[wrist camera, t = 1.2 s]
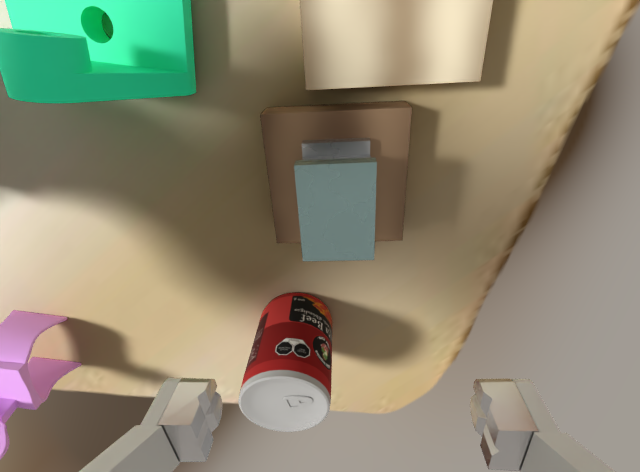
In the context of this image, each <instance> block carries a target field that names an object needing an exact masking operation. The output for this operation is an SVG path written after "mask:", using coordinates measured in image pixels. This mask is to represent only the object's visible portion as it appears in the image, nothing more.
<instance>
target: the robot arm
mask: <svg viewBox="0 0 640 472" xmlns="http://www.w3.org/2000/svg"><path fill="white" fill-rule="evenodd" d="M216 388H217V384H216V382H215V379H196V378H168V379H167V380H166V381H164V383H163V384H162V386H161V388H160V390H159V392H158V394H157V395H156V397H155V399H154V401H153V403H152V405H151V406H150V408H149V410H148V412H147V414H146V416H145V418H144V419H143V421H142V423H141V425H140V426H139V425H137V426H135V427H133V428H132V429H131V430H130V431H128V432H127V433H126V434H125V435H124V436H122V437H121V438H120V439H119V440H117V441H116V442H115V443H113V444H112V445H111V446H110V447H109V448H107V449H106V450H105V451H104V452H102V453H101V454H100V455H99V456H97V457H96V458H95V459H94V460H93V461H92V462H90V463H89V464H88V465H86V466H85V467H84V468H83V469H82V470H80V471H79V472H172V471H173V470H174V469H175V468H176V467H177V466H178V465H179V462H206V460H207V457H208V454H209V451H210V449H211V445H212V443H213V437H212V434H211V432H212V431H213V430H214V429H215V428H216V427H217V426H218V425H219V422H220V418H221V413H222V399H221V396H220V394H218V393H217V392H216V391H215V390H216ZM473 388H474V391H475V394H474V395H473V396H472V397H471V402H470V410H471V417H472V422H473V425H474V428H475V430H476V431H477V432H478V433H479V434H480V435H481V436H482V440H481V444H480V446H481V449H482V452H483V455H484V458H485V461H486V464H487V467H488V469H491V470H509V471H520V472H615V471H614V470H613V469H612V468H610V467H609V466H608V465H607V464H605V463H604V462H603V461H602V460H600V459H599V458H598V457H597V456H595V455H594V454H593V453H591V452H590V451H589V450H588V449H586V448H585V447H584V446H583V445H581V444H580V443H579V442H578V441H576V440H575V439H574V438H573V437H571V436H570V435H569V434H567V433H561V432H560V430H559V428H558V427H557V425H556V423H555V421H554V419H553V417H552V416H551V414H550V412H549V410H548V408H547V407H546V405H545V403H544V401H543V400H542V398H541V396H540V394H539V392H538V390H537V389H536V387H535V385H534V384H533V382H532V381H531V380H530V379H476V380H475V381H474V386H473Z"/></svg>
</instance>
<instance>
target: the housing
mask: <svg viewBox="0 0 640 472" xmlns="http://www.w3.org/2000/svg"><path fill="white" fill-rule="evenodd" d="M302 156H303V157H302V160H296V161H295V164H294V171H295V182H296V193H297V203H298V214H299V225H300V236H301V247H302V257H303V261H345V260H374V247H375V211H376V175H377V161H376V158H375V157H371V156H370V138H369V137H368V138H344V139H320V140H303V141H302Z"/></svg>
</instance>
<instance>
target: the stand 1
mask: <svg viewBox="0 0 640 472" xmlns="http://www.w3.org/2000/svg"><path fill="white" fill-rule="evenodd" d="M492 4H493V0H300V10H301V25H302V40H303V54H304V69H305V84H306V90H321V89H340V88H359V87H379V86H398V85H417V84H437V83H456V82H475V81H480V80H481V74H482V67H483V61H484V55H485V49H486V42H487V36H488V30H489V23H490V17H491V11H492Z"/></svg>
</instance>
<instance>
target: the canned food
mask: <svg viewBox="0 0 640 472" xmlns="http://www.w3.org/2000/svg"><path fill="white" fill-rule="evenodd" d="M331 366H332V318H331V315H330V312H329V310H328V308H327V307H326V305H325V304H324V303H323V302H322V301H320V300H319V299H318V298H316V297H314V296H311V295H309V294H304V293H286V294H283V295H280V296H278V297H276V298H274V299H273V300H272V301H271V302H270V303H269V304H268V305H267V306H266V308H265V309H264V310H263V312H262V315H261V318H260V322H259V325H258V329H257V332H256V336H255V339H254V343H253V346H252V350H251V353H250V357H249V360H248V364H247V367H246V371H245V374H244V378H243V382H242V386H241V389H240V395H239V407H240V409H241V411H242V412H243V414H244V415H245V416H246V417H247V418H248V419H249V420H250V421H252V422H254V423H255V424H257V425H259V426H262V427H264V428H267V429H271V430H276V431H285V432H291V431H301V430H306V429H308V428H312V427H314V426H316V425H318V424H319V423H321V422H322V421H323V420H324V419H325V418H326V416H327V415H328V412H329V409H330V401H331Z"/></svg>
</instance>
